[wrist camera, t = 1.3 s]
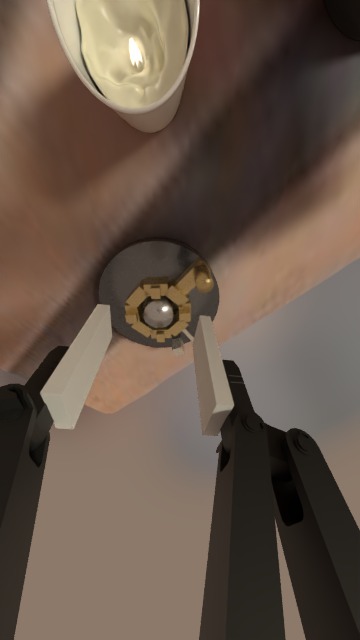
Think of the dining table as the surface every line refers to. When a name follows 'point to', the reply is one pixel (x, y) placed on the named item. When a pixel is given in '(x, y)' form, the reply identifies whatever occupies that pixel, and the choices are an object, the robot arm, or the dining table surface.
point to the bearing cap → (127, 272)
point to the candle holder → (130, 53)
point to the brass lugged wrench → (173, 290)
